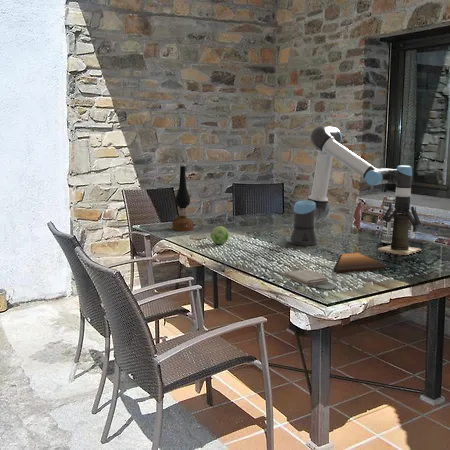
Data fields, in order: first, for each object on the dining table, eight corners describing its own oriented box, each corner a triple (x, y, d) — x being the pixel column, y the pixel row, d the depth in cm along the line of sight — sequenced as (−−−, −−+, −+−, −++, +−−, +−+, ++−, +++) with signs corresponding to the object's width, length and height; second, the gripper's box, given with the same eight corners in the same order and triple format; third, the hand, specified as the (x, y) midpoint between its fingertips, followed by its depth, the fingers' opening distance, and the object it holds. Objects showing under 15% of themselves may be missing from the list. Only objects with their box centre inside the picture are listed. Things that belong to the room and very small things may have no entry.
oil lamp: (197, 234, 360) (210, 171, 356) (182, 233, 347) (196, 168, 343) (179, 229, 367) (192, 168, 363) (165, 228, 354) (178, 165, 350)
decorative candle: (394, 244, 319) (397, 199, 315) (378, 242, 324) (381, 198, 320) (399, 241, 327) (402, 198, 322) (383, 239, 332) (385, 196, 327)
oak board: (405, 256, 289) (405, 253, 289) (377, 251, 300) (377, 248, 300) (420, 251, 300) (421, 248, 300) (393, 246, 311) (393, 244, 311)
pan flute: (337, 274, 254) (385, 270, 262) (337, 267, 254) (386, 263, 261) (312, 261, 278) (357, 258, 285) (312, 255, 277) (357, 252, 285)
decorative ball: (226, 246, 308) (227, 228, 306) (208, 245, 310) (208, 227, 308) (230, 242, 318) (230, 225, 316) (212, 242, 320) (213, 224, 318)
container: (412, 249, 298) (414, 215, 295) (399, 251, 294) (401, 216, 291) (399, 245, 306) (401, 212, 303) (386, 247, 302) (389, 213, 299)
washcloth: (307, 287, 233) (307, 280, 233) (282, 277, 249) (283, 270, 248) (330, 284, 239) (330, 276, 238) (305, 274, 255) (305, 267, 254)
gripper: (429, 197, 289) (426, 238, 293) (385, 193, 307) (382, 231, 310) (422, 198, 284) (419, 240, 288) (377, 194, 301) (375, 233, 305)
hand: (400, 236), depth 299 cm, fingers open, 13 cm apart
